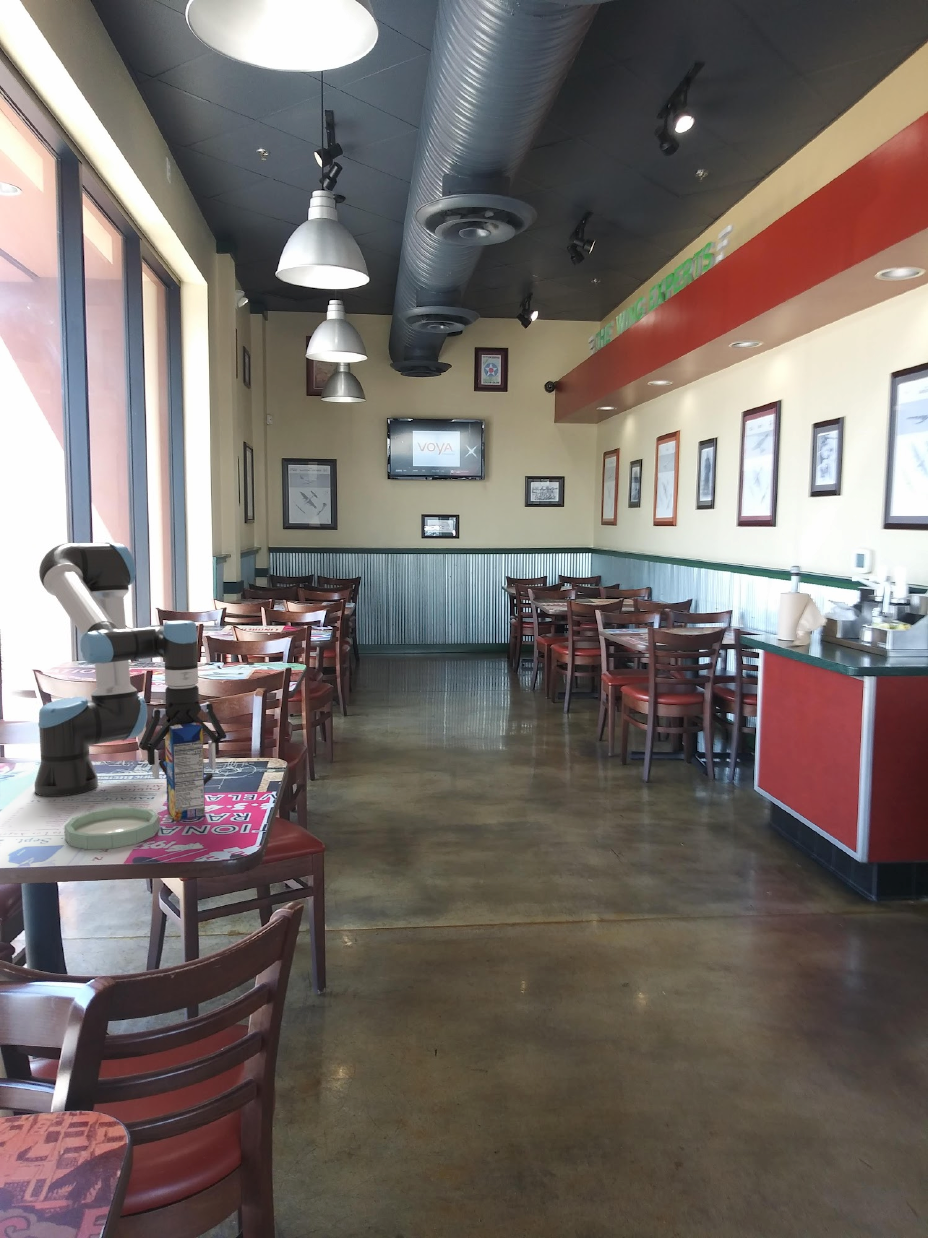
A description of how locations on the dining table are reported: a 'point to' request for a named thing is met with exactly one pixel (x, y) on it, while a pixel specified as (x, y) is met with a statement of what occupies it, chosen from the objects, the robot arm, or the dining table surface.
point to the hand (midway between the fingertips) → (184, 773)
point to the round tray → (111, 827)
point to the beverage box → (185, 771)
